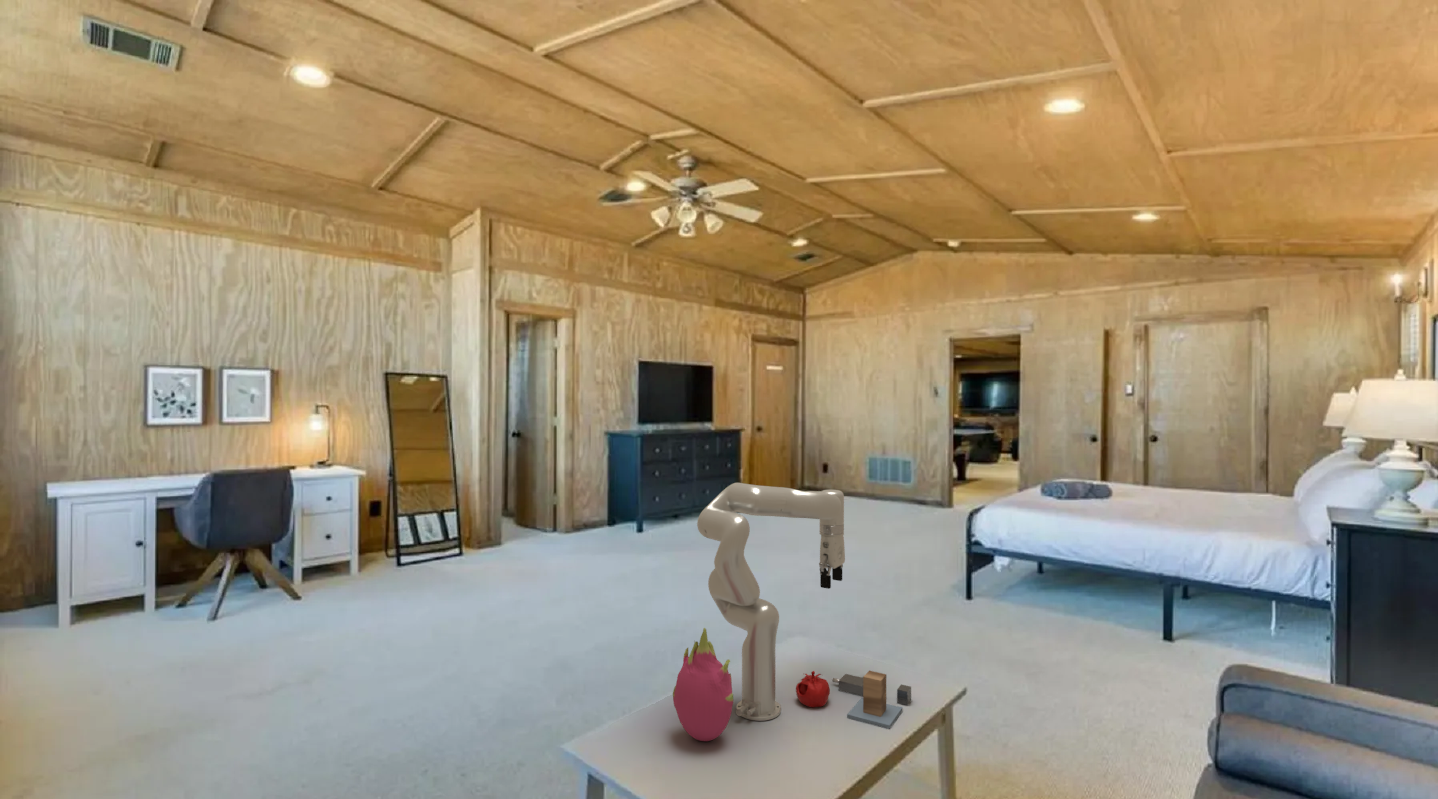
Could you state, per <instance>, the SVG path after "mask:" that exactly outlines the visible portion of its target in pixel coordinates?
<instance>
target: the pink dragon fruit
mask: <svg viewBox="0 0 1438 799" xmlns="http://www.w3.org/2000/svg"><path fill="white" fill-rule="evenodd" d="M693 642H694V644H693V647H692V648H691V651H690V654H689V647H687V648H686V649H685V650H684V653H683V663H682V667H681V668H680V670H679V672H678V674H677V677H676V678H677V679H676V683H675V686H674V688H673V691H672V698H673V699H672V702H673V706H674V709H675V711H676V713H677V717H678V720H679V722H680V723H681V727H682V728H683V730H685V731H686V733H687V734H688V735H689V736H690V737H692V738H693V739H695V740H697V741H698V742H699V741H700V742H710V741H712V740H715V739H716V738H718V737H719V736H720V735H722V733H723V732H724V731H725V729H726V728H727V726H728V724H729V721H730V719H731V715H732V711H733V705H734V693H733V687H732V686H733V685H732V681H733V680H732V674H731V673H729V664H730V663H731V660H730V659H726V661H725V662H724V664H723V663H721V661H720V660H718V658H717V656H716V652H715V648H714V645H713V643H712V642H711V641H710V640H709V639H708V632H707V628H706V627H703V630H702V633H701V636H700V639H699V642H698V641H693Z"/></svg>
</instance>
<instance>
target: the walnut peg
mask: <svg viewBox="0 0 1438 799" xmlns="http://www.w3.org/2000/svg"><path fill="white" fill-rule="evenodd" d="M862 678H863V696H862V698H863V712H864V713H867V714H871V715H875V716H879V717H881V716H882V715H883V713H884V712H885V711H886V704H887V673H883V672H877V671H873V670H868V671H867V672H866V673H865V674H864V675H863V677H862Z"/></svg>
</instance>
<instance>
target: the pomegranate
mask: <svg viewBox="0 0 1438 799" xmlns="http://www.w3.org/2000/svg"><path fill="white" fill-rule="evenodd" d="M815 674H816V671H815V670H813V671H811V674H807V673H804V677H803V678H801V680H800V682H799V683H796V686H795V692H796V697H797V699H798V700H799V702H800V703H801V704H802V705H803V706H807V707H809V708H816V707H817V708H820V707H823V706H825V705H826V704H827V702H828V700H829V696H830V694H831V689H830V685H829V684H830V683H829V682H828V681H827V679H825V678H821V677H819V676H822V674H821V673H818V674H816V675H815Z"/></svg>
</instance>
